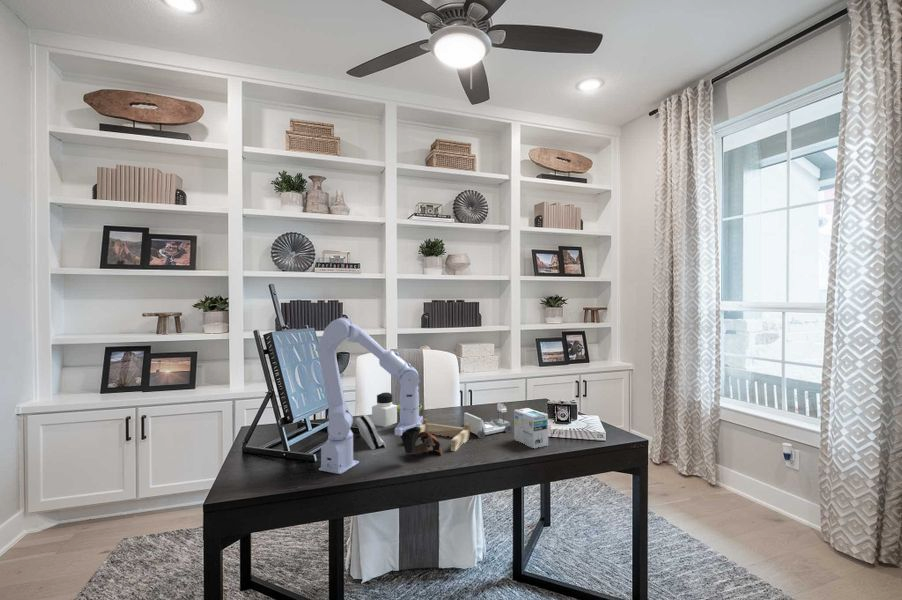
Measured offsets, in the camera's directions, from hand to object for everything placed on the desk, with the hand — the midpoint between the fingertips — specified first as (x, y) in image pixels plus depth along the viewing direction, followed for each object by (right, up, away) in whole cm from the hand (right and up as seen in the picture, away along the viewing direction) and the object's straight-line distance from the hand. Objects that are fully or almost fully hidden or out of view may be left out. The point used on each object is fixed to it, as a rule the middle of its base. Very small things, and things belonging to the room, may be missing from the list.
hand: (409, 452), depth 136 cm
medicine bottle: (-13, -3, +41) cm, 43 cm away
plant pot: (-3, -3, +34) cm, 35 cm away
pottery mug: (+5, -4, +8) cm, 10 cm away
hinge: (-16, -3, +20) cm, 26 cm away
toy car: (+27, -3, +33) cm, 42 cm away
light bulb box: (+40, -3, +19) cm, 44 cm away
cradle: (+8, -3, +20) cm, 22 cm away
